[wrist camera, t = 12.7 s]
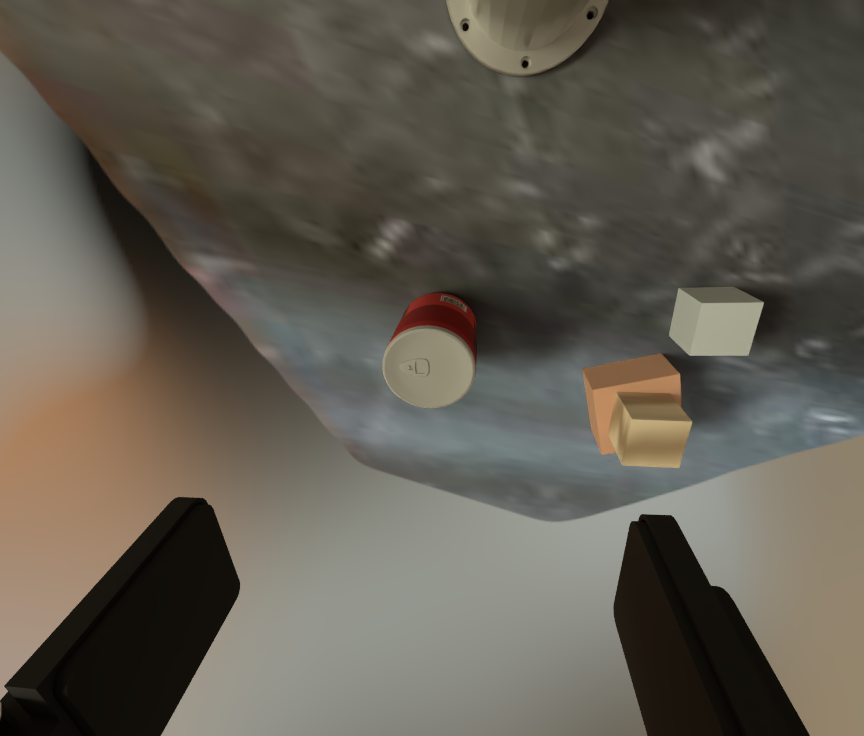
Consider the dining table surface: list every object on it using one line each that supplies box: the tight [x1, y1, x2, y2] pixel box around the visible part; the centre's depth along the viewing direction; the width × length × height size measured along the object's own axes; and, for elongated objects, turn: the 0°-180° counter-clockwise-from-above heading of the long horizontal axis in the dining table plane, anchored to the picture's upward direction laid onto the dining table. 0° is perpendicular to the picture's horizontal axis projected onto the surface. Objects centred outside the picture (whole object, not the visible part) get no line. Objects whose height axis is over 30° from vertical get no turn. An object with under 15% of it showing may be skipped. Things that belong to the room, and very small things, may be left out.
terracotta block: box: [582, 354, 682, 455], centre depth 45 cm, size 8×8×5 cm
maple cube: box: [608, 392, 692, 468], centre depth 41 cm, size 5×5×5 cm
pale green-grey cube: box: [669, 287, 764, 356], centre depth 40 cm, size 5×5×5 cm
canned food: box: [383, 293, 477, 408], centre depth 41 cm, size 8×8×11 cm
